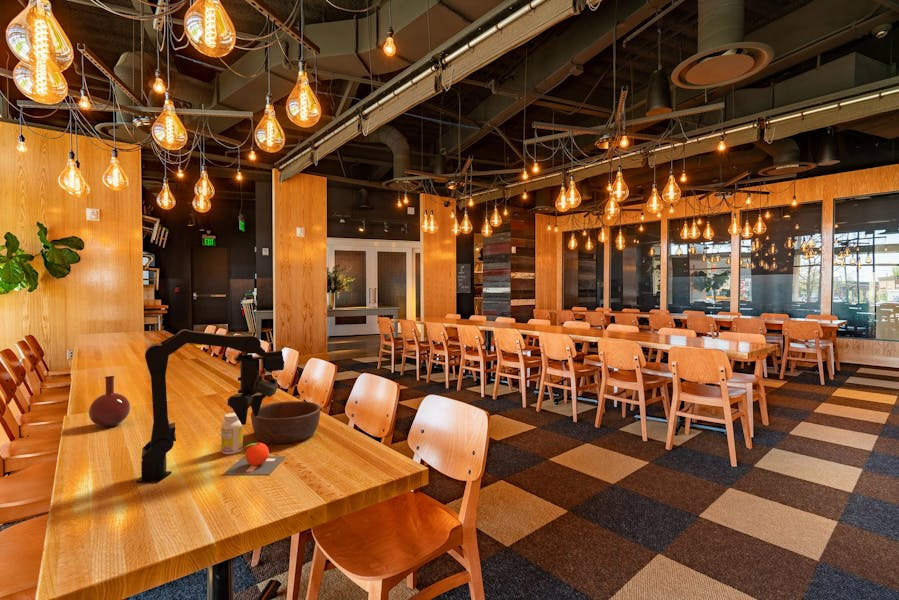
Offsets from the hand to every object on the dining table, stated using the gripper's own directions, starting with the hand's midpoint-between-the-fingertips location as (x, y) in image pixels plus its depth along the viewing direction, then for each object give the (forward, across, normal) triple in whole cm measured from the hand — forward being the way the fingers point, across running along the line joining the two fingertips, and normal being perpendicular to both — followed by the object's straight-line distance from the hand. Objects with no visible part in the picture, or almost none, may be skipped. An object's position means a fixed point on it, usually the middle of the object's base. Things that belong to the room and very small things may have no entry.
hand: (250, 420), depth 141 cm
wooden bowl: (+13, +23, -4) cm, 27 cm away
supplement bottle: (+13, +7, +9) cm, 17 cm away
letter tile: (+13, -5, -4) cm, 14 cm away
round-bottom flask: (+13, +34, +71) cm, 79 cm away
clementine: (+13, -5, -4) cm, 14 cm away
